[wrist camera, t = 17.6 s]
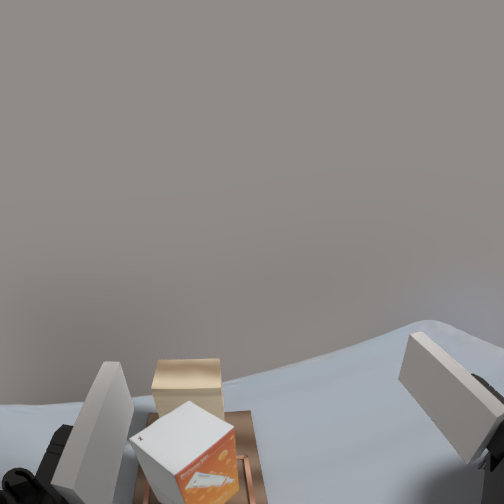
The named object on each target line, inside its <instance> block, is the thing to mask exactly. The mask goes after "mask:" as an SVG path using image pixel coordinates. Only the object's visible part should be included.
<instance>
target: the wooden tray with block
mask: <svg viewBox="0 0 504 504" xmlns="http://www.w3.org/2000/svg"><path fill="white" fill-rule="evenodd" d="M151 389H152V393H153V397H154V401H155V404H156V408H157V412H158V413H149V415H148V420H147V425H146V428H147V427H148V426H150V425H151V424H152V423H154V422H155V421H156V420H158V419H159V418H161V417H163V416H164V415H166V414H168V413H170V412H171V411H173V410H174V409H176V408H177V407H179V406H180V405H182V404H184V403H185V402H187V401H191V402H192V403H194V404H195V405H197V406H199V407H200V408H202V409H204V410H205V411H207V412H209V413H210V414H212V415H214V416H216V417H218V418H219V419H221V420H223V421H225V422H227V423H229V424H230V425H232V426H234V430H235V444H236V458H237V471H238V484H239V491H238V492H236V493H235V494H234V495H233V496H232V497H231V498H230V499H229V500H228V501H227V502H226V503H225V504H268V502H267V497H266V492H265V487H264V481H263V476H262V471H261V466H260V461H259V455H258V450H257V445H256V439H255V434H254V428H253V422H252V417H251V411H237V412H224V403H223V393H222V382H221V370H220V359H219V358H217V359H190V360H158V363H157V367H156V371H155V376H154V380H153V384H152V388H151ZM133 504H162V503H161V502H159V501H158V499H157V497H156V496H155V494H154V492H153V490H152V488H151V486H150V484H149V482H148V480H147V478H146V476H145V474H144V472H143V470H142V468H141V465H140V463H139V467H138V473H137V479H136V485H135V491H134V498H133Z"/></svg>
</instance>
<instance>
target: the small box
mask: <svg viewBox="0 0 504 504" xmlns="http://www.w3.org/2000/svg"><path fill="white" fill-rule="evenodd" d="M129 441H130V443H131V445H132V448H133V450H134V452H135V454H136V457H137V459H138V461H139V463H140V465H141V468H142V470H143V472H144V474H145V476H146V478H147V480H148V482H149V484H150V486H151V488H152V490H153V492H154V494H155V496H156V497H157V499H158V501H159V502H161V503H162V504H225V503H226V502H227V501H228V500H229V499H230V498H231V497H232V496H233V495H234V494H235V493H236V492H238V491H239V484H238V471H237V458H236V444H235V430H234V426H232V425H230V424H229V423H227V422H225V421H223V420H221V419H219V418H218V417H216V416H214V415H212V414H210V413H209V412H207V411H205V410H204V409H202V408H200V407H199V406H197V405H195V404H194V403H192V402H191V401H187V402H185V403H184V404H182V405H180V406H179V407H177V408H176V409H174V410H173V411H171V412H170V413H168V414H166V415H164V416H163V417H161V418H159V419H158V420H156V421H155V422H154V423H152V424H151V425H150V426H148V427H147V428H145V429H143V430H142V431H140V432H139V433H137V434H136V435H134V436H132V437H131V438H129Z"/></svg>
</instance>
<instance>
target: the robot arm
mask: <svg viewBox="0 0 504 504" xmlns="http://www.w3.org/2000/svg"><path fill="white" fill-rule="evenodd" d="M398 379H399V381H400V382H401V383H402V384H403V385H404V387H405V388H406V389H407V390H408V391H409V393H410V394H411V395H412V396H413V398H414V399H415V400H416V401H417V402H418V404H419V405H420V406H421V407H422V409H423V410H424V411H425V412H426V413H427V415H428V416H429V417H430V418H431V420H432V421H433V422H434V423H435V425H436V426H437V427H438V428H439V430H440V431H441V432H442V433H443V435H444V436H445V437H446V438H447V440H448V441H449V442H450V444H451V445H452V446H453V447H454V449H455V450H456V451H457V452H458V454H459V455H460V456H461V458H462V459H463V460H464V461H465V463H466V464H469V463H471V462H472V461H474V460H476V459H477V458H479V457H480V456H481V454H482V453H483V451H484V450H485V448H487V449H488V450H489V452H488V453H487V455H486V456H485V458H484V459H483V460H482V462H481V463H480V464H479V467H478V469H480V468H481V467H482V466H483V464H484V463H485V462H486V465H485V467H484V468H483V469H485V478H484V488H483V496H482V503H481V504H504V397H503V396H501V395H500V394H499V393H498V392H497V391H495V389H494V388H493V387H492V386H489V384H488V383H487V382H486V381H485V380H484V379H483V378H481V377H479V376H477V375H475V374H470V373H469V372H468V371H466V370H465V369H464V368H463V367H462V366H461V365H460V364H459V363H457V362H456V361H455V360H454V359H453V358H452V357H451V356H450V355H448V354H447V353H446V352H445V351H444V350H443V349H441V348H440V347H439V346H438V345H437V344H436V343H435V342H433V341H432V340H431V339H430V338H429V337H428V336H426V335H425V334H424V333H423V332H422V331H420V332H416V333H412V334H409V338H408V343H407V347H406V351H405V355H404V359H403V363H402V367H401V370H400V374H399V378H398ZM134 409H135V408H134V405H133V402H132V399H131V396H130V393H129V390H128V387H127V384H126V381H125V377H124V374H123V371H122V367H121V364H120V362H104V363H103V365H102V367H101V369H100V371H99V373H98V375H97V377H96V379H95V381H94V383H93V385H92V387H91V389H90V391H89V394H88V396H87V398H86V400H85V402H84V404H83V406H82V409H81V411H80V413H79V415H78V418H77V420H76V422H75V424H74V426H70V425H64V424H63V425H62V426H61V427H60V428H59V429H58V430H57V431H56V432H55V433H54V435H53V437H52V439H51V441H50V445H48V448H47V450H46V451H47V452H46V453H45V454H44V457H43V459H42V461H41V463H40V466H39V468H38V470H37V473H36V475H35V476H34V475H33V474H32V473H31V472H30V471H28V470H27V469H24V468H13V469H12V470H10V471H8V472H7V473H6V474H5V475H4V477H3V480H2V489H3V490H0V504H112V503H113V498H114V493H115V488H116V483H117V478H118V474H119V469H120V465H121V461H122V456H123V452H124V448H125V444H126V440H127V436H128V432H129V428H130V424H131V420H132V416H133V412H134Z"/></svg>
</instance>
